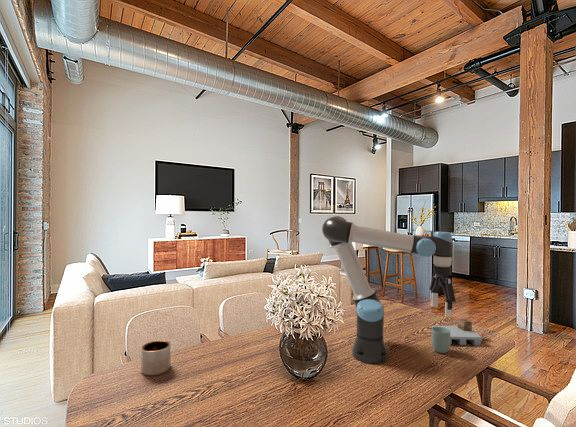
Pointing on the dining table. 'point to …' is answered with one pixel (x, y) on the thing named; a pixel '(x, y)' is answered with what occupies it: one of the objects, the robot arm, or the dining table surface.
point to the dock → (462, 335)
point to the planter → (155, 357)
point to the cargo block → (464, 324)
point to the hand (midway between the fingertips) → (441, 311)
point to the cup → (440, 339)
